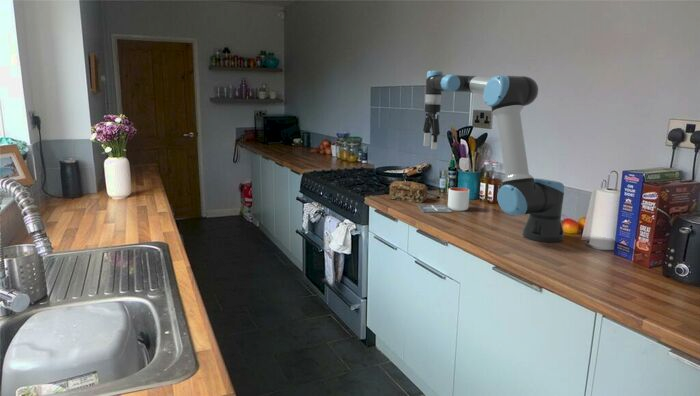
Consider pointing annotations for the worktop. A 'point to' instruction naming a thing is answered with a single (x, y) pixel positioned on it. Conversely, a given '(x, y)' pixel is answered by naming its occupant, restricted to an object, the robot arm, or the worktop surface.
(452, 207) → the cup
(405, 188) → the bread
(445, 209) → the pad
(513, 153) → the robot arm
